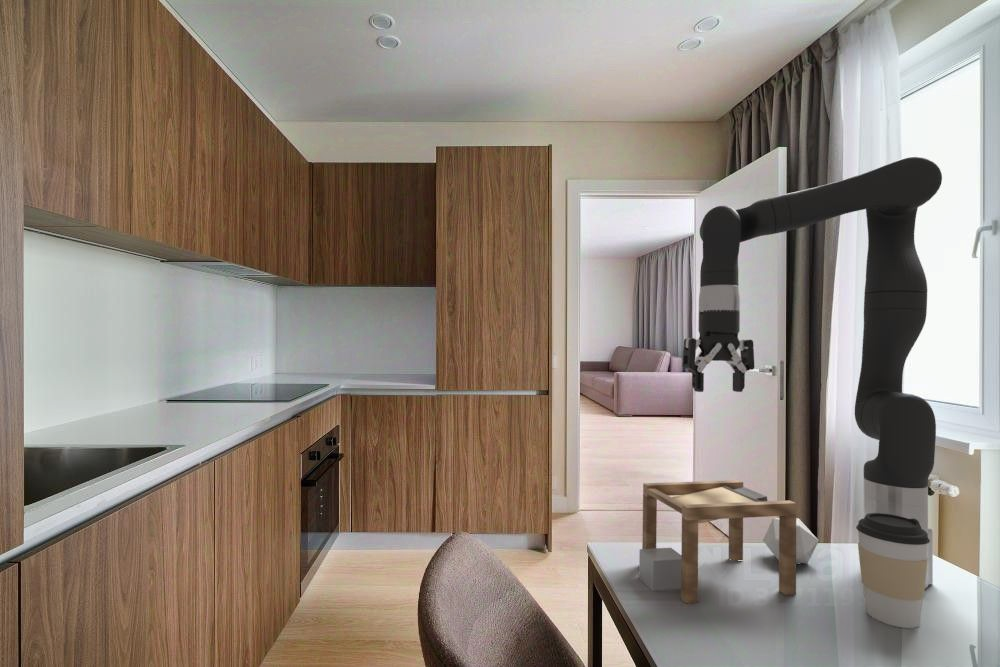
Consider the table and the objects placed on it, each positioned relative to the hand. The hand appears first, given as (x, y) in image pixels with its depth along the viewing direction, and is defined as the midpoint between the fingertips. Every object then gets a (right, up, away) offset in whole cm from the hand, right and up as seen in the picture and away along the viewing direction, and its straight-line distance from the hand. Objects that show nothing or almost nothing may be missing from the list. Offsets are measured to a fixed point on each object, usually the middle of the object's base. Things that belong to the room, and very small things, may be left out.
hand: (718, 391), depth 102 cm
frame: (-5, -32, -11) cm, 34 cm away
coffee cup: (+17, -32, -23) cm, 43 cm away
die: (+13, -33, -2) cm, 35 cm away
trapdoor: (-4, -21, -10) cm, 24 cm away
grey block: (-12, -29, -12) cm, 34 cm away
